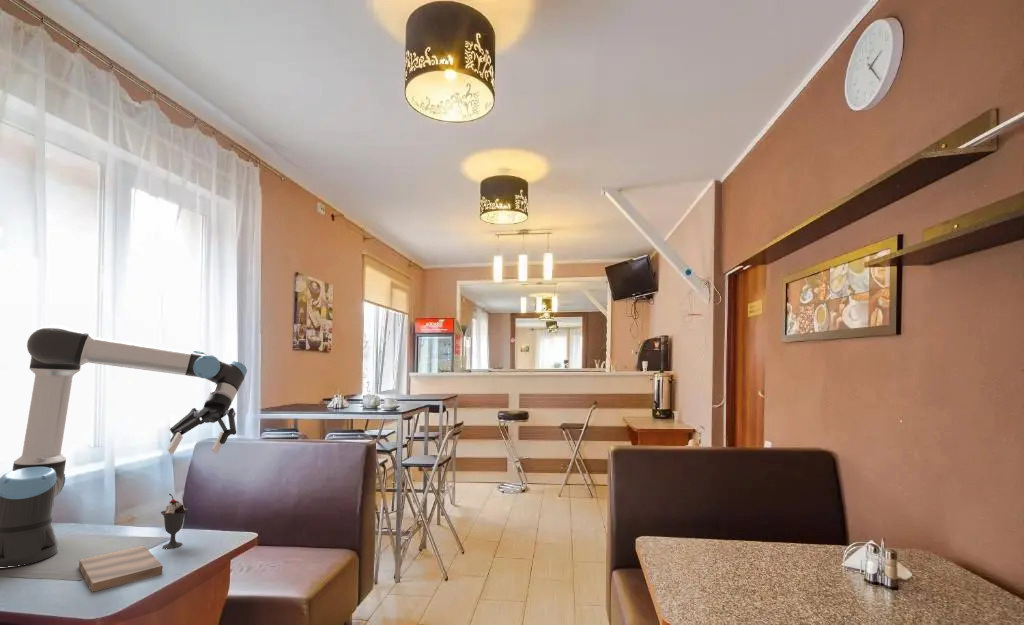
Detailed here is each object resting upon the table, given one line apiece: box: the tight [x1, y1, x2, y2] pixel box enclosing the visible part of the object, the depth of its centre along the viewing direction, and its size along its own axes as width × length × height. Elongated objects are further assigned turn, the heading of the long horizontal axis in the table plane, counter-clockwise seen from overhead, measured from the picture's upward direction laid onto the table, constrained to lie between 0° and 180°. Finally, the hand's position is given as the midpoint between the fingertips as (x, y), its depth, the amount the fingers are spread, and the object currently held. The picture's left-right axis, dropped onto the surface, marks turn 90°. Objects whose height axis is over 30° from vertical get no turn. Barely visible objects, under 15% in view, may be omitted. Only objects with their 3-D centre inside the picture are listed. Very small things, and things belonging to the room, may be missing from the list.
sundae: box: [160, 493, 189, 550], centre depth 148 cm, size 7×7×15 cm
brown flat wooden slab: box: [78, 545, 164, 593], centre depth 130 cm, size 20×14×2 cm
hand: (192, 451), depth 157 cm, fingers open, 13 cm apart
